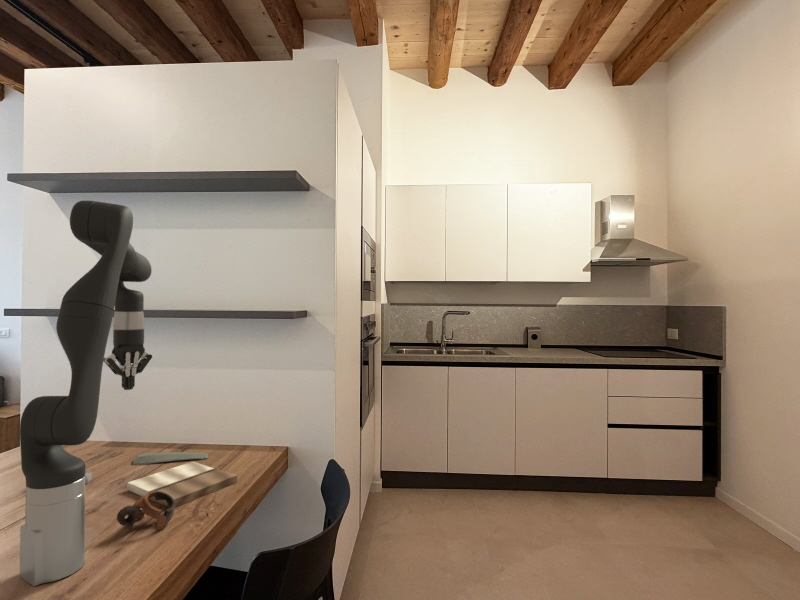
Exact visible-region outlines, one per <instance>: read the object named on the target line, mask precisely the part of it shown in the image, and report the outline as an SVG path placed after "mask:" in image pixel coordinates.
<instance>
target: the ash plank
mask: <svg viewBox="0 0 800 600" xmlns="http://www.w3.org/2000/svg"><path fill="white" fill-rule="evenodd" d="M211 469H214V467H211V466H208V465H205V464H201V463H199V462H196V461H189V462H187V463H183V464H181V465H179V466H175V467H172V468H168V469H165V470H162V471H160V472H159V471H158V472H156V473H153V474H150V475H146V476H144V477H140V478H137V479H134V480H131V481H128V482H127V483H126V484H127V485H126V490H127V491H128V492H131V493H133V494H136V495H138V496H140V497H141V498H142V497H145V495H146V494H147V493H149V491H151V490H154V489H157V488H160V487H163V486H166V485H169V484H171V483H174V482H177V481H180V480H183V479H186V478H188V477H191V476H194V475H197V474H200V473H203V472H206V471H208V470H211Z"/></svg>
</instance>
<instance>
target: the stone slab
mask: <svg viewBox="0 0 800 600" xmlns="http://www.w3.org/2000/svg"><path fill="white" fill-rule="evenodd" d="M205 453H206V452H200V453H199V452H184V451H183V452H179V451H178V452H177V451H175V452H172V451H171V452H143V453H139V454H138V455H137V456H136V457H135V458H134V460H133V461H132V465H133V466H146V465H151V464H157V463H158V464H160V463H167V462H176V461H190V460H208V459H209V453H207V454H205Z"/></svg>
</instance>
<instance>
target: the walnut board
mask: <svg viewBox="0 0 800 600" xmlns="http://www.w3.org/2000/svg"><path fill="white" fill-rule="evenodd" d="M213 468H214V467H213ZM236 483H238V475H237V474H234V473H231V472H228V471H224V470H221V469H217V468H214V469H211V470H208V471H206V472H203V473H200V474H197V475H194V476H191V477H188V478H186V479H183V480H180V481H177V482H174V483H171V484H169V485H166V486H163V487H160V488H157V489H154V490H151V491H149V492H152V491H160V492H164V493H167V494H168V495H170V496H171V497H172V498H173V499H174V501H175V508H176V507H179V506H181V505H183V504H187V503H189V502H191V501H194V500H196V499H199V498H202V497H204V496H206V494H207V495H208V494H211V492H212V493H214V492H216V491H219V490H222V489H224V488H226V487H229V486H232V485H234V484H236ZM201 496H202V497H201ZM149 500H150V501H152V502H155V503H158V504H160V505H163V506H166V507H168V508H171V507H170V506H168V504H167V502H166V500H155V497H154V496H153V497H150V498H149V499H148V501H149Z"/></svg>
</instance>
